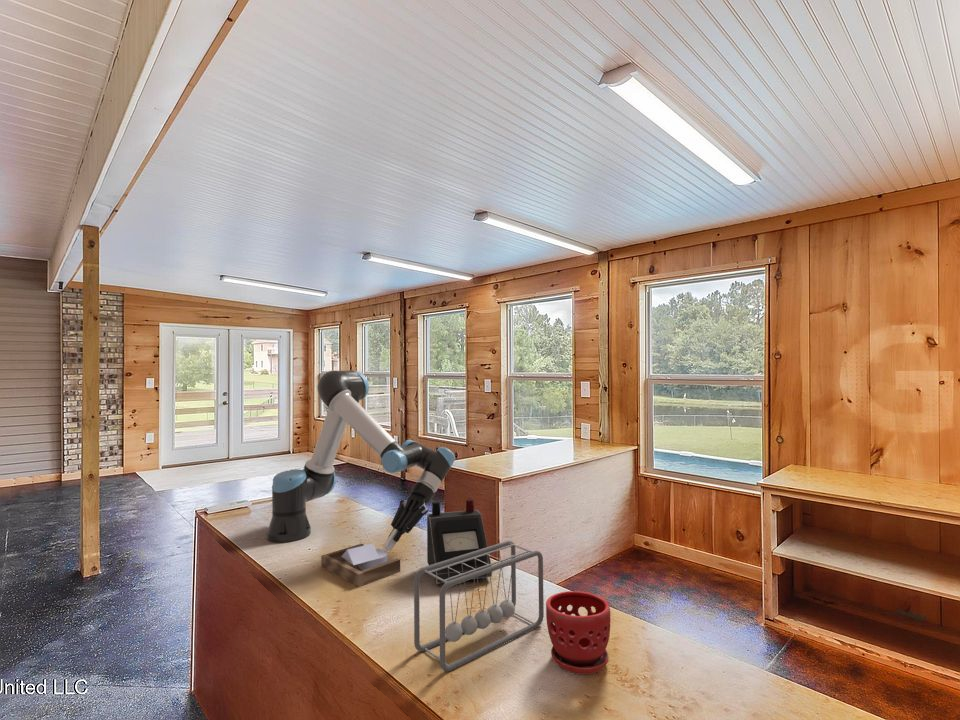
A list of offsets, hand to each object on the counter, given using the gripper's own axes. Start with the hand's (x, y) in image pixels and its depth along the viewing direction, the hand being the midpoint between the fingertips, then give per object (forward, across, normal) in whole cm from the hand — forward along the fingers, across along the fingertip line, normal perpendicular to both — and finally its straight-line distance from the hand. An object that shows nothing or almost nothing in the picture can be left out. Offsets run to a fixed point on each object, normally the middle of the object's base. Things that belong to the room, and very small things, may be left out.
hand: (386, 549), depth 156 cm
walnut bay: (+9, 0, +4) cm, 10 cm away
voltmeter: (-3, -25, -8) cm, 26 cm away
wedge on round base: (+8, 0, +2) cm, 8 cm away
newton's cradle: (+12, -54, +6) cm, 56 cm away
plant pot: (+7, -75, +2) cm, 75 cm away
